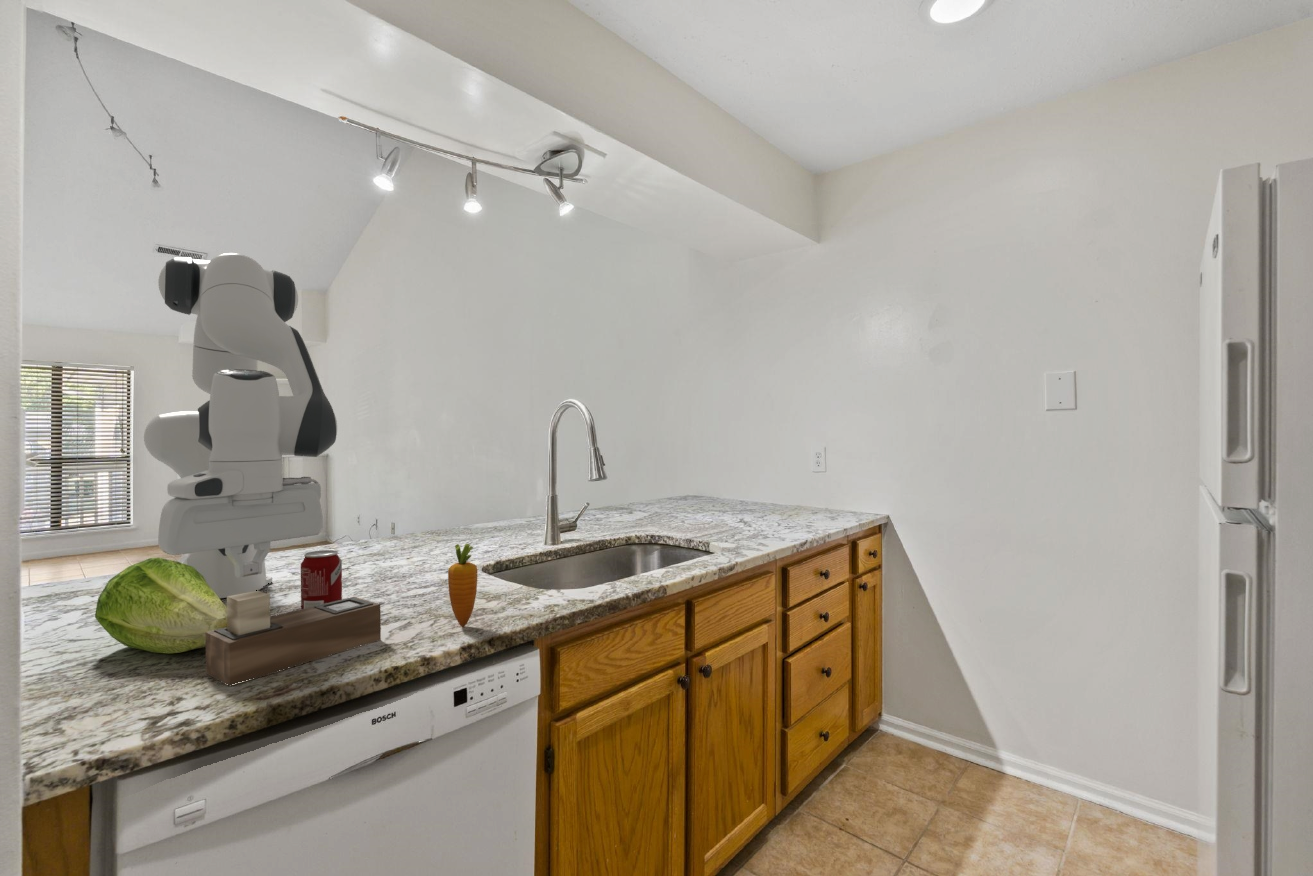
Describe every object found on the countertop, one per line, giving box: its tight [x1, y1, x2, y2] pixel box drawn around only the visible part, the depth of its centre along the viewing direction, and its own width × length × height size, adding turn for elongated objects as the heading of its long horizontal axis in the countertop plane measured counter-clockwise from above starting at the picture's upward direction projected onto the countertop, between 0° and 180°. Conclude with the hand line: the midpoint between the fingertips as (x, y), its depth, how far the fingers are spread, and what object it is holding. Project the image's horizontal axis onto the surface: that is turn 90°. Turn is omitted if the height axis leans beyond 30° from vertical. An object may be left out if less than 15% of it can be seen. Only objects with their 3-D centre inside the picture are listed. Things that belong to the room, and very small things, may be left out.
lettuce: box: [94, 557, 227, 654], centre depth 96 cm, size 14×24×15 cm
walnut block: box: [205, 596, 382, 686], centre depth 94 cm, size 8×22×6 cm, turn 146°
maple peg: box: [226, 590, 271, 636], centre depth 88 cm, size 4×4×6 cm
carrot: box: [447, 543, 478, 628], centre depth 107 cm, size 5×5×15 cm
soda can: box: [300, 549, 343, 609], centre depth 114 cm, size 7×7×12 cm
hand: (248, 575), depth 88 cm, fingers closed
